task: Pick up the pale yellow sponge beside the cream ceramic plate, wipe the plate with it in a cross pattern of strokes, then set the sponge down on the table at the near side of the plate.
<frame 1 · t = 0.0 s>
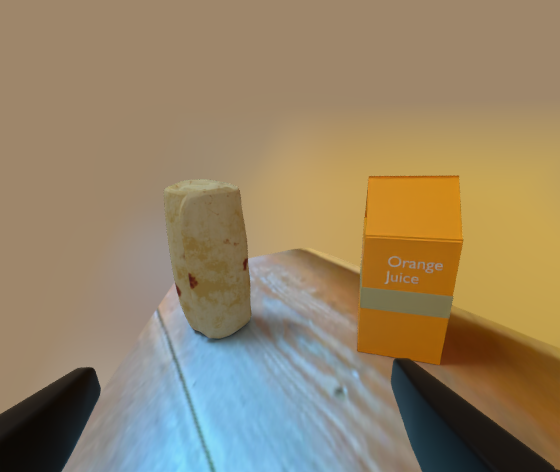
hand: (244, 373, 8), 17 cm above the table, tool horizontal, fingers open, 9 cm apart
orange juice: (392, 337, 33), on the table
food model: (218, 328, 37), on the table
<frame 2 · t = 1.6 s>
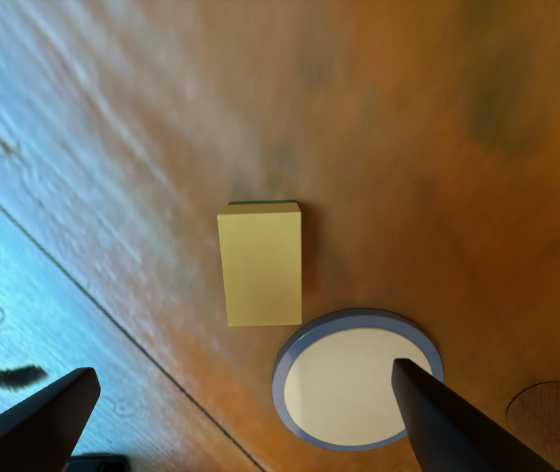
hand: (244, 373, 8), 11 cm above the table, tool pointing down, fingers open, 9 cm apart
disposable coffee cup: (539, 407, 24), on the table
plate: (354, 380, 22), on the table
sponge: (265, 249, 19), on the table
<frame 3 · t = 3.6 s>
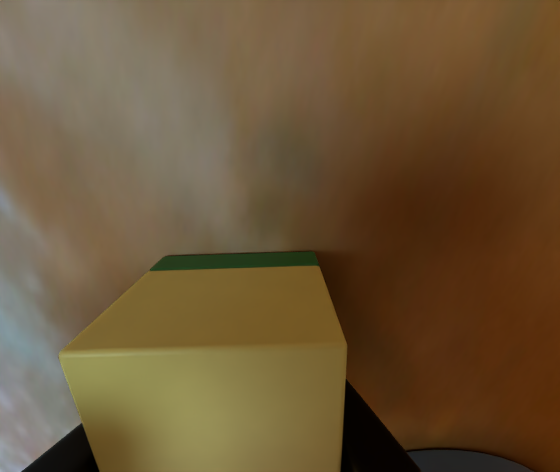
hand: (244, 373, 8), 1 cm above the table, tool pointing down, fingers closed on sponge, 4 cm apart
sponge: (247, 349, 9), on the table, touching gripper
when the fingers open (1 cm above the table, at t = 15.5 s): sponge stays where it is, on the table.
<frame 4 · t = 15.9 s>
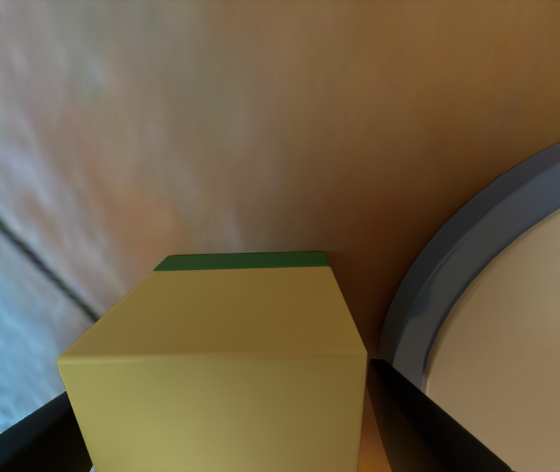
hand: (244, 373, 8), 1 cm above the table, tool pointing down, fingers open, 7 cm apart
sponge: (253, 352, 9), on the table
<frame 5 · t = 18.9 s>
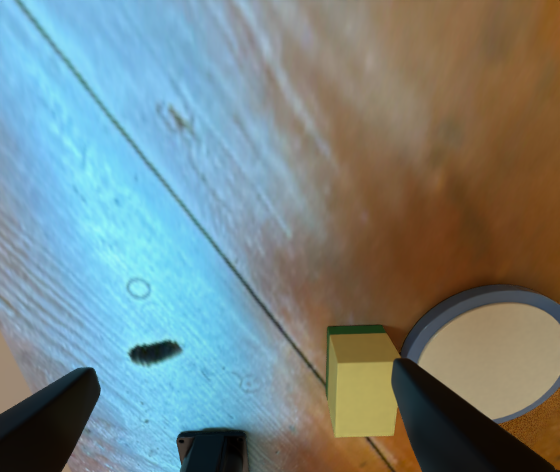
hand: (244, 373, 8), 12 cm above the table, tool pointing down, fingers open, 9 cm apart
plate: (480, 356, 23), on the table
sponge: (352, 359, 23), on the table
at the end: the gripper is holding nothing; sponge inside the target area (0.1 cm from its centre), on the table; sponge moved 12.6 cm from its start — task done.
